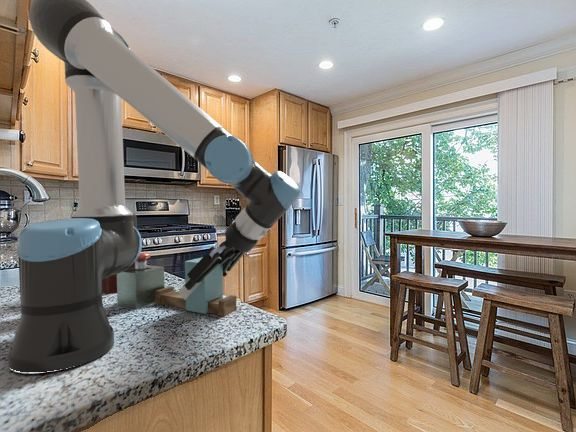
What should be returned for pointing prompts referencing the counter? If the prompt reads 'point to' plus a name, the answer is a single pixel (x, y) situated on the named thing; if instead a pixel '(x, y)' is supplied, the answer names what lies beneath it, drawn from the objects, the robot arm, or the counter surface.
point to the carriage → (204, 288)
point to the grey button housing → (139, 286)
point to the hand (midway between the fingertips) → (193, 291)
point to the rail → (175, 299)
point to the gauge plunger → (142, 262)
